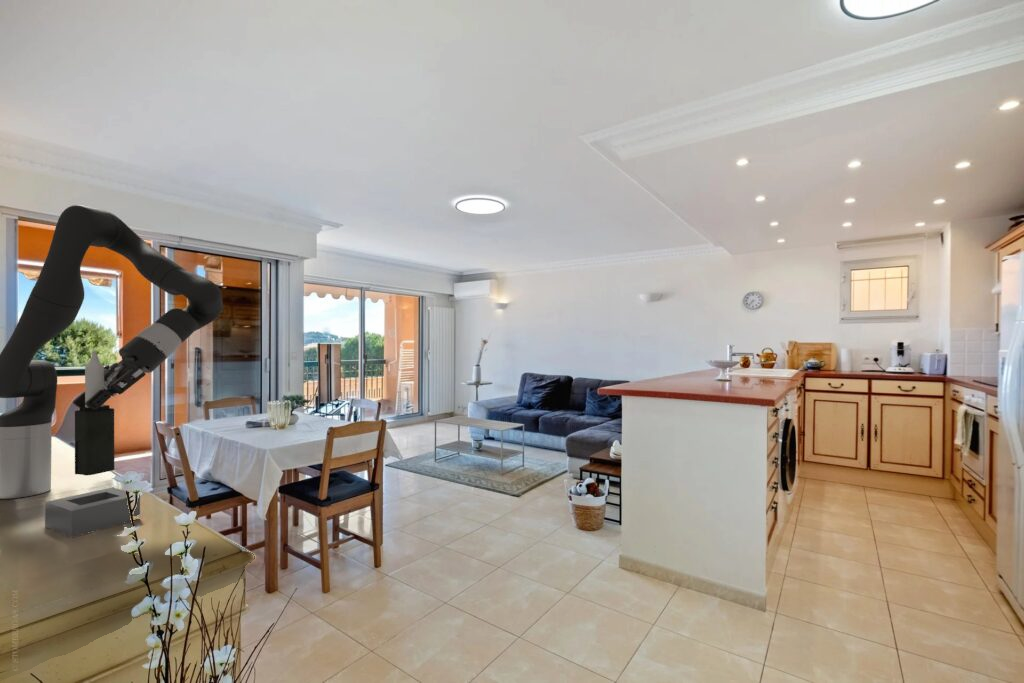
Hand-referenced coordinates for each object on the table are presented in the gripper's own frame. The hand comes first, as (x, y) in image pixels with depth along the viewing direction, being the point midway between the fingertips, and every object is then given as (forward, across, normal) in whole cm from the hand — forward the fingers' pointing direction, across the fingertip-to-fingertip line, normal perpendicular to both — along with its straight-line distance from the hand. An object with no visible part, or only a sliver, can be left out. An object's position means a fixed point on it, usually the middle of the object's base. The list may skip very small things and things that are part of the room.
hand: (83, 406), depth 94 cm
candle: (+8, 0, +11) cm, 14 cm away
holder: (+16, 0, +18) cm, 24 cm away
